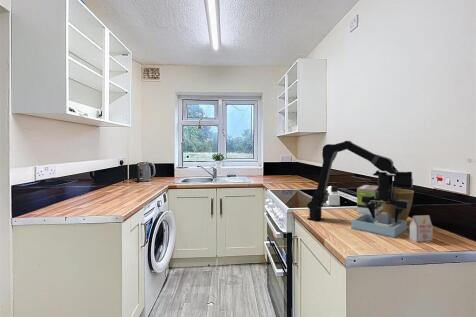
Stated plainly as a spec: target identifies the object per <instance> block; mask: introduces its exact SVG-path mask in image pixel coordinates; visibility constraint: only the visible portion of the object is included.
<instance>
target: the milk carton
mask: <svg viewBox="0 0 476 317" xmlns="http://www.w3.org/2000/svg"><path fill="white" fill-rule="evenodd" d="M433 228H434V227H433V223H432V221H431V217H430V215H429V214H427V215H412V219H411V221H410V223H409V240H411V241H413V242H415V243H425V242H426V241H430V242H433ZM426 243H427V242H426Z"/></svg>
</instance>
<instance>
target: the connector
mask: <svg viewBox="0 0 476 317" xmlns="http://www.w3.org/2000/svg"><path fill="white" fill-rule="evenodd" d="M377 216H378V223H381V224H387V225H390V224H391V213H389V212H384V211H380V212H379V213H378V214H377Z"/></svg>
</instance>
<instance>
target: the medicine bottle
mask: <svg viewBox="0 0 476 317" xmlns="http://www.w3.org/2000/svg"><path fill="white" fill-rule="evenodd" d="M338 189H339V187H338V186H336V185H329V186H327V193H329V196H328V201H326V203H325V204H326V205H328V206H340V205H341V204H340V203H341V202H340V201H341V199H340V196H341V195H340V194H339V191H338Z"/></svg>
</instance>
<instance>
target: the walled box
mask: <svg viewBox="0 0 476 317" xmlns="http://www.w3.org/2000/svg"><path fill="white" fill-rule="evenodd" d="M376 221H378V215H375V219H373V217H372V215H369V214H362V215H360V216H358V217H354V218H353V219H351V230H356V231H360V232H364V233H370V234H374V235H378V236H383V237H388V238H392V239H395V238H397V237H398V236H400V235H402V234H403V233H404V232H406V231H407V229H408V225H407V224H408V220H406V221H404V220H398V221H397V223H396V226H394V227H388V226H382V225H377V224H374V222H376ZM391 222H395V219H393V218H391Z"/></svg>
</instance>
